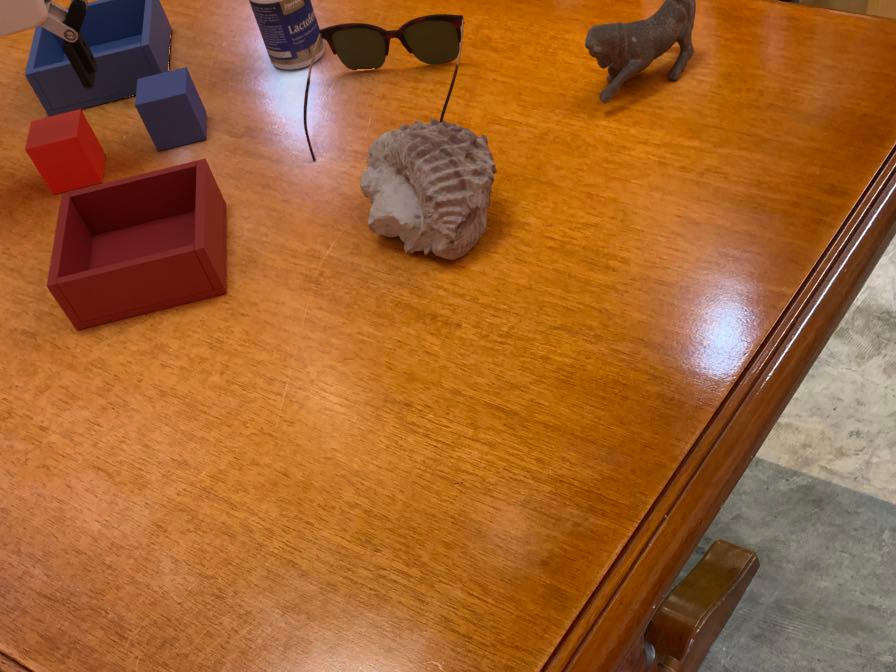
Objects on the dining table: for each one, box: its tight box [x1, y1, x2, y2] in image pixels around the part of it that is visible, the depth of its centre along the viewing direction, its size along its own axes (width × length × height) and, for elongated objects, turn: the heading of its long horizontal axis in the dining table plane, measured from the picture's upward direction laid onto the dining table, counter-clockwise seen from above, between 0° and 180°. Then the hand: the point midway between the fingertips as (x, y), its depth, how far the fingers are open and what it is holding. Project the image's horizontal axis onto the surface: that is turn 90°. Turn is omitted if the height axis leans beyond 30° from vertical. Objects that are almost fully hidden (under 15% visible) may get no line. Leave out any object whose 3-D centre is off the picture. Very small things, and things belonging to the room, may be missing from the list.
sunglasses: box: [303, 13, 465, 162], centre depth 95 cm, size 14×15×5 cm
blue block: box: [134, 66, 208, 152], centre depth 97 cm, size 5×5×5 cm
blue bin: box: [24, 0, 172, 117], centre depth 107 cm, size 13×13×5 cm
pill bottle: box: [248, 0, 326, 71], centre depth 101 cm, size 6×6×10 cm
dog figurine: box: [584, 0, 697, 104], centre depth 90 cm, size 12×6×7 cm, turn 124°
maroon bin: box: [46, 158, 228, 331], centre depth 85 cm, size 13×13×5 cm
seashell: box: [359, 117, 498, 261], centre depth 83 cm, size 14×9×10 cm
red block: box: [24, 109, 107, 196], centre depth 96 cm, size 5×5×5 cm
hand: (38, 94), depth 91 cm, fingers open, 9 cm apart
